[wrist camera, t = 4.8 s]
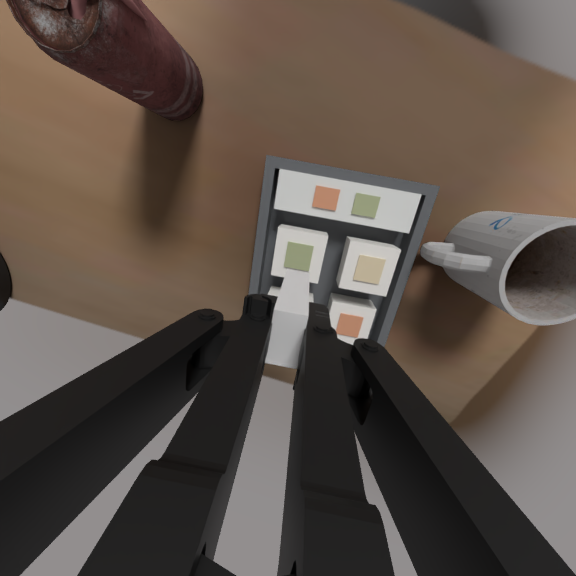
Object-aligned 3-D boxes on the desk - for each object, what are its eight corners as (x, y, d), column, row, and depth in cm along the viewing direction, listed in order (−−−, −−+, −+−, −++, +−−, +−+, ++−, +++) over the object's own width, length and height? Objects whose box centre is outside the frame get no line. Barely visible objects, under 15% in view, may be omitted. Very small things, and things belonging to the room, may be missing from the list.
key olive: (274, 267, 30) (270, 275, 27) (281, 223, 29) (278, 227, 26) (317, 276, 30) (317, 284, 27) (326, 232, 28) (328, 236, 26)
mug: (539, 223, 29) (651, 237, 19) (496, 294, 31) (576, 337, 22) (430, 191, 28) (490, 190, 19) (398, 266, 31) (436, 297, 22)
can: (215, 110, 27) (128, 33, 14) (161, 129, 28) (32, 73, 15) (194, 39, 26) (71, -124, 12) (137, 63, 27) (-34, -66, 13)
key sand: (336, 279, 30) (338, 288, 27) (346, 236, 28) (350, 240, 26) (379, 287, 30) (386, 297, 27) (392, 244, 28) (401, 250, 26)
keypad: (248, 322, 35) (242, 334, 32) (270, 158, 28) (265, 154, 25) (374, 346, 35) (380, 361, 32) (426, 187, 28) (441, 186, 25)
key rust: (322, 328, 34) (323, 340, 31) (330, 292, 32) (332, 302, 29) (360, 335, 34) (365, 348, 31) (371, 300, 32) (377, 310, 29)
